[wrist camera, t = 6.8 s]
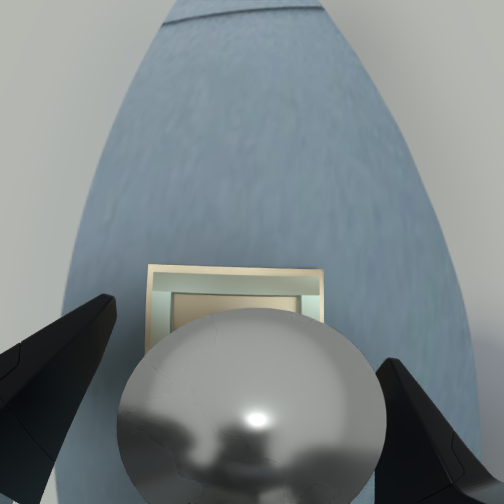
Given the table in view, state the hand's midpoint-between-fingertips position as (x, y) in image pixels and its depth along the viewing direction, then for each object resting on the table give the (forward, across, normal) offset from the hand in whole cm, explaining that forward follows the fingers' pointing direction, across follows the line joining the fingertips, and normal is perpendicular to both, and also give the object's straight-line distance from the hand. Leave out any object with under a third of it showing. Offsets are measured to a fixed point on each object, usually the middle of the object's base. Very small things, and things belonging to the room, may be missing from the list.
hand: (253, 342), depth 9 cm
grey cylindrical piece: (+4, 0, +7) cm, 8 cm away
